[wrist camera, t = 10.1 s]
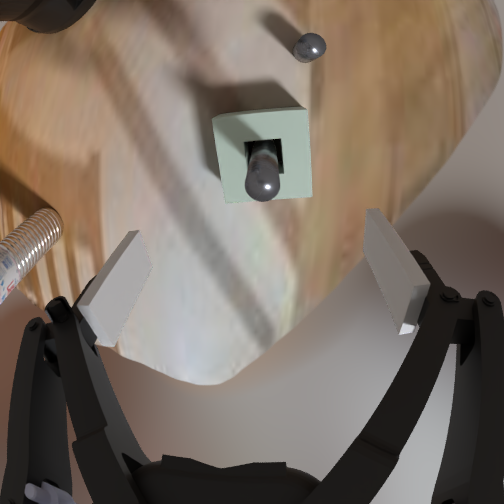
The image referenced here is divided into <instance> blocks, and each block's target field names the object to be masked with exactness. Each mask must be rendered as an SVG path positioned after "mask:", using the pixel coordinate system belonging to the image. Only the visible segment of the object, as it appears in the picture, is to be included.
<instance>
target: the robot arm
mask: <svg viewBox="0 0 504 504" xmlns="http://www.w3.org/2000/svg"><path fill="white" fill-rule="evenodd" d="M95 1H96V0H0V21H16V22H18V23H20V24H22V25H24V26H26V27H27V28H28V29H29V30H31V31H33V32H36V33H46V34H51V33H56V32H59V31H62V30H64V29H66V28H68V27H69V26H71V25H72V24H74V23H75V22H76V21H78V20H79V19H80V18H81V17H82V16H83V15H84V14H85V13H86V12H87V11H88V10H89V9H90V8H91V6H92V5H93V4H94V2H95ZM363 252H364V254H365V256H366V258H367V260H368V262H369V265H370V267H371V269H372V271H373V274H374V276H375V278H376V280H377V283H378V285H379V287H380V289H381V292H382V294H383V296H384V299H385V301H386V303H387V306H388V308H389V311H390V313H391V316H392V318H393V321H394V323H395V326H396V328H397V331H398V334H399V335H400V334H406V333H411V332H414V331H415V328H416V325H417V323H418V325H419V327H420V328H419V330H418V332H417V335H416V337H415V339H414V341H413V343H412V345H411V347H410V350H409V352H408V353H407V355H406V358H405V359H404V361H403V363H402V365H401V367H400V369H399V371H398V373H397V375H396V376H395V378H394V380H393V382H392V383H391V385H390V387H389V389H388V390H387V392H386V394H385V395H384V397H383V399H382V401H381V402H380V404H379V405H378V407H377V409H376V410H375V412H374V413H373V415H372V416H371V418H370V419H369V421H368V422H367V424H366V425H365V427H364V428H363V430H362V431H361V433H360V434H359V435H358V436H357V437H356V439H355V440H354V441H353V443H352V444H351V445H350V447H349V448H348V449H347V451H346V452H345V453H344V455H343V456H342V457H341V458H340V460H339V461H338V462H337V463H336V465H335V466H334V467H333V468H332V470H331V471H330V472H329V473H328V475H327V476H326V477H325V478H324V479H323V480H322V481H319V480H318V479H316V478H315V477H313V476H312V475H310V474H308V473H305V472H303V471H301V470H297V469H294V468H288V467H287V466H286V462H271V463H250V464H245V465H239V466H234V467H228V468H216V467H214V466H210V465H207V464H204V463H201V462H199V461H196V460H193V459H191V458H183V457H176V456H169V455H163V456H162V460H161V461H156V462H151V461H150V460H149V459H148V458H147V457H146V455H145V454H144V453H143V451H142V450H141V448H140V446H139V444H138V442H137V440H136V438H135V436H134V434H133V433H132V430H131V428H130V426H129V424H128V422H127V420H126V418H125V416H124V414H123V411H122V409H121V407H120V405H119V403H118V400H117V398H116V395H115V393H114V391H113V388H112V386H111V383H110V381H109V378H108V376H107V373H106V370H105V368H104V365H103V362H102V360H101V357H100V354H99V351H98V348H97V346H96V345H95V344H94V343H95V341H96V339H97V338H98V340H99V341H100V343H101V344H102V346H110V347H115V344H116V342H117V340H118V338H119V336H120V333H121V331H122V329H123V327H124V325H125V323H126V320H127V318H128V316H129V314H130V312H131V310H132V308H133V306H134V304H135V302H136V300H137V298H138V296H139V294H140V292H141V290H142V288H143V286H144V284H145V282H146V280H147V278H148V276H149V274H150V272H151V270H152V268H153V266H152V263H151V260H150V258H149V255H148V252H147V249H146V246H145V244H144V241H143V238H142V235H141V232H140V230H136V231H129V232H128V234H127V235H126V236H125V238H124V239H123V240H122V241H121V243H120V244H119V245H118V247H117V248H116V249H115V251H114V252H113V253H112V255H111V256H110V258H109V259H108V260H107V262H106V263H105V264H104V266H103V267H102V269H101V270H100V271H99V273H98V274H97V275H96V276H95V277H93V278H92V279H91V280H90V281H89V282H88V284H87V285H86V287H85V289H83V291H82V292H81V294H80V295H79V297H78V298H77V300H76V301H75V303H74V304H73V306H72V308H71V307H70V305H69V303H68V302H67V300H66V298H65V297H63V296H59V297H56V298H54V299H53V300H51V301H50V302H49V303H48V304H47V306H46V307H45V312H46V314H47V316H48V317H49V319H50V320H51V321H52V322H51V323H47V324H45V322H44V321H43V320H42V318H40V317H37V318H34V319H32V320H31V321H29V322H28V324H27V325H26V327H25V330H24V334H23V338H22V342H21V346H20V351H19V355H18V360H17V365H16V370H15V375H14V381H13V388H12V394H11V402H10V411H9V422H8V439H7V464H6V469H5V474H4V479H3V483H2V489H1V495H0V504H77V503H75V502H74V500H73V498H72V477H71V468H70V460H69V451H68V438H67V418H66V417H67V416H66V402H67V406H68V410H69V413H70V417H71V421H72V424H73V427H74V431H75V434H76V437H77V440H76V441H74V442H73V443H72V448H73V452H74V455H75V458H76V461H77V463H78V466H79V469H80V471H81V474H82V477H83V479H84V482H85V484H86V487H87V489H88V491H89V494H90V496H91V498H92V500H93V503H92V504H369V503H370V502H371V501H372V499H373V498H374V497H375V495H376V494H377V493H378V491H379V490H380V488H381V487H382V486H383V484H384V483H385V481H386V480H387V478H388V477H389V475H390V474H391V472H392V470H393V469H394V467H395V466H396V464H397V462H398V459H399V455H400V452H401V451H402V449H403V447H404V445H405V444H406V442H407V440H408V438H409V437H410V435H411V433H412V431H413V429H414V427H415V425H416V423H417V421H418V419H419V417H420V415H421V413H422V411H423V409H424V407H425V405H426V403H427V401H428V398H429V396H430V394H431V392H432V389H433V387H434V385H435V382H436V380H437V377H438V375H439V372H440V370H441V367H442V364H443V362H444V359H445V356H446V353H447V350H448V347H449V344H457V351H456V352H457V353H456V371H455V384H454V394H453V403H452V410H451V417H450V424H449V429H448V435H447V440H446V445H445V449H444V454H443V458H442V462H441V466H440V470H439V473H438V477H437V480H436V484H435V488H434V492H433V495H432V500H431V504H504V484H503V480H504V317H503V311H502V306H501V302H500V300H499V298H498V297H497V296H496V295H495V294H494V293H492V292H489V291H484V290H483V291H480V292H479V293H478V294H477V296H476V298H475V299H467V298H462V297H461V295H460V293H458V292H457V291H456V290H455V289H453V288H451V287H447V286H445V285H444V283H443V282H442V280H441V279H440V277H439V276H438V274H437V273H436V271H435V270H434V269H433V267H432V265H431V264H429V261H428V260H427V258H426V257H425V256H424V255H423V254H422V253H420V252H419V251H418V250H414V251H409V250H408V249H407V247H406V245H405V244H404V243H403V241H402V240H401V238H400V237H399V235H398V234H397V233H396V231H395V230H394V228H393V227H392V226H391V224H390V223H389V222H388V220H387V219H386V217H385V216H384V215H383V213H382V212H381V211H380V210H379V208H376V209H366V219H365V233H364V244H363ZM44 358H45V361H44Z"/></svg>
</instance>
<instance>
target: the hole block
mask: <svg viewBox="0 0 504 504" xmlns="http://www.w3.org/2000/svg"><path fill="white" fill-rule="evenodd" d="M212 125H213V131H214V137H215V144H216V150H217V156H218V163H219V169H220V175H221V181H222V187H223V193H224V199H225V204H228V203H238V202H250V201H256V200H254V199H252V198H251V197H250V196H249V195H248V194H247V192H246V190H245V179H246V175H247V171H248V166H249V162H250V157H249V149H248V141H256V140H267V139H280V143H281V155H282V162H278V169H279V177H280V190H279V192H278V194H277V195H276V196H275V197H274V198H273V199H271V200H274V199H288V198H303V197H312V175H311V155H310V138H309V123H308V110H307V109H306V108H304V107H284V108H270V109H259V110H249V111H240V112H232V113H225V114H219V115H217V116H215V117H214V118H212Z"/></svg>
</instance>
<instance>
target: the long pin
mask: <svg viewBox="0 0 504 504" xmlns="http://www.w3.org/2000/svg"><path fill="white" fill-rule="evenodd" d="M245 190H246V192H247V194H248V195H249V196H250V197H251V198H252V199H254V200H256V201H261V202H264V201H269V200H271V199H273V198H274V197H275V196H276V195H277V194H278V192H279V190H280V177H279V169H278V161H277V153H276V146H275V143H274V142H273V141H272V140H271V139H267V140H257V141H256V142H255V143H254V145H253V150H252V154H251V158H250V162H249V166H248V171H247V175H246V179H245Z"/></svg>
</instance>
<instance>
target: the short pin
mask: <svg viewBox="0 0 504 504" xmlns="http://www.w3.org/2000/svg"><path fill="white" fill-rule="evenodd" d="M325 51H326V43H325V41H324V39H323V38H322V37H321V36H319V35H317V34H314V33H307V34H304V35H303V36H301V37H300V39H299V40H298V42H297V43H296V45H295V46H294V48H293V55H294V57H295V58H296V59H297V60H298V61H300V62H303V63H308V62H311V61H313V60H315V59H316V58H318V57H320V56H322V55H323V54H324V52H325Z"/></svg>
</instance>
